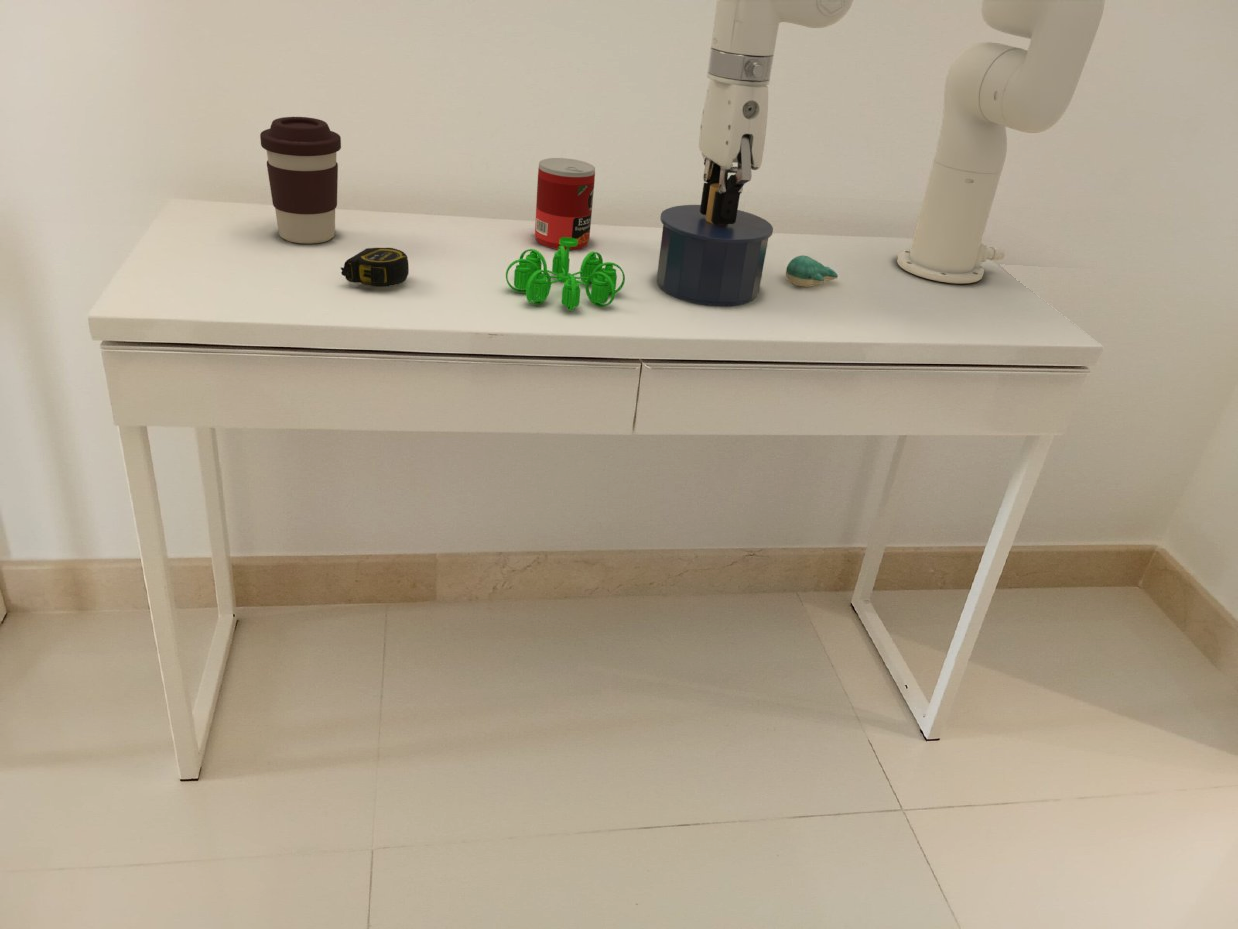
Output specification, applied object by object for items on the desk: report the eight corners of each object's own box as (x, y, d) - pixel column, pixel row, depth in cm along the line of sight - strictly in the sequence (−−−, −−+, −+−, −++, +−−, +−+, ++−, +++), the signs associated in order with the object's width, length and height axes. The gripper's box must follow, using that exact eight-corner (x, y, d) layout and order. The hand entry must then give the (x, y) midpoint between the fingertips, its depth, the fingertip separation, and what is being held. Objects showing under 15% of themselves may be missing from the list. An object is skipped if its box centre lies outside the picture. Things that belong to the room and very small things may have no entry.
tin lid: (743, 212, 137) (750, 171, 134) (791, 247, 125) (799, 203, 122) (644, 212, 132) (649, 169, 129) (683, 248, 120) (689, 202, 117)
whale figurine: (776, 275, 139) (781, 249, 137) (822, 274, 142) (827, 248, 140) (796, 290, 135) (801, 263, 133) (843, 289, 137) (848, 262, 135)
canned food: (582, 253, 139) (588, 175, 134) (527, 245, 140) (531, 166, 135) (594, 238, 146) (601, 162, 140) (542, 230, 147) (546, 154, 141)
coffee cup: (287, 220, 139) (279, 110, 132) (355, 230, 138) (351, 119, 131) (255, 241, 131) (244, 124, 123) (328, 252, 130) (321, 134, 122)
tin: (732, 268, 140) (742, 209, 136) (774, 305, 129) (786, 241, 125) (642, 270, 136) (649, 209, 131) (677, 308, 125) (686, 242, 120)
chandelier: (633, 317, 120) (639, 263, 117) (509, 314, 118) (511, 258, 114) (613, 274, 133) (618, 224, 130) (501, 270, 130) (503, 218, 127)
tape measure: (368, 269, 126) (367, 241, 124) (418, 279, 124) (418, 250, 123) (341, 286, 120) (339, 256, 118) (393, 296, 119) (392, 266, 117)
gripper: (798, 82, 113) (770, 239, 122) (740, 57, 126) (719, 200, 135) (738, 79, 111) (714, 239, 120) (685, 53, 124) (668, 199, 133)
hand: (717, 217), depth 128 cm, fingers closed on tin lid, 3 cm apart
